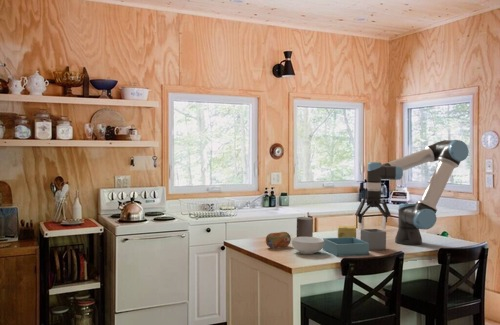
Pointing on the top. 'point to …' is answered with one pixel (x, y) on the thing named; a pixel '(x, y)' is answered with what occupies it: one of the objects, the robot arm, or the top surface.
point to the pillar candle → (304, 227)
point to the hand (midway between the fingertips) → (372, 228)
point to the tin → (278, 240)
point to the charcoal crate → (374, 238)
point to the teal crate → (346, 246)
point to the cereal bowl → (307, 244)
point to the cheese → (346, 231)
